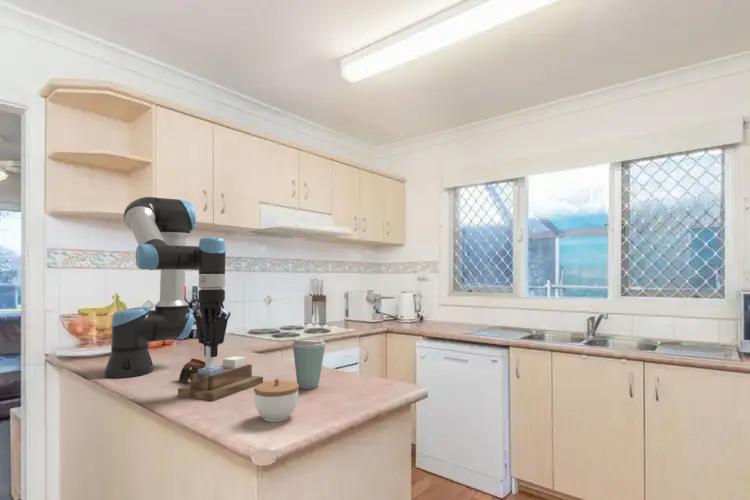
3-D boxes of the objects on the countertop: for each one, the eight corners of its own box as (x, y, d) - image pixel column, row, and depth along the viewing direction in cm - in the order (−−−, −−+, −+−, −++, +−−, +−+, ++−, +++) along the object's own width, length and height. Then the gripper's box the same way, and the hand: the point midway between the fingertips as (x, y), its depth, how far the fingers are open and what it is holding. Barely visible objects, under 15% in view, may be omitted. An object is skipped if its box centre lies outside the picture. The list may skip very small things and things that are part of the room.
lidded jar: (306, 419, 102) (306, 380, 103) (263, 429, 96) (263, 387, 96) (287, 408, 111) (288, 372, 111) (247, 416, 105) (248, 378, 105)
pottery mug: (175, 381, 143) (187, 357, 146) (202, 391, 145) (213, 368, 149) (177, 379, 132) (190, 354, 136) (205, 390, 135) (217, 365, 139)
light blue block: (197, 383, 124) (197, 369, 125) (210, 379, 129) (210, 366, 129) (210, 384, 122) (210, 370, 123) (222, 380, 127) (223, 367, 127)
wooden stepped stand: (177, 395, 123) (178, 374, 124) (229, 379, 142) (230, 361, 143) (213, 400, 118) (214, 379, 118) (262, 383, 137) (263, 364, 137)
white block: (222, 371, 134) (222, 359, 134) (233, 368, 138) (234, 356, 138) (234, 373, 132) (234, 360, 132) (245, 369, 136) (246, 357, 136)
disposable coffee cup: (306, 380, 140) (306, 334, 141) (332, 384, 134) (332, 337, 135) (284, 388, 131) (284, 339, 132) (311, 392, 125) (311, 341, 126)
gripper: (186, 289, 127) (184, 368, 125) (218, 289, 121) (217, 372, 120) (205, 288, 133) (204, 363, 132) (237, 288, 128) (236, 367, 127)
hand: (210, 367), depth 126 cm, fingers closed
